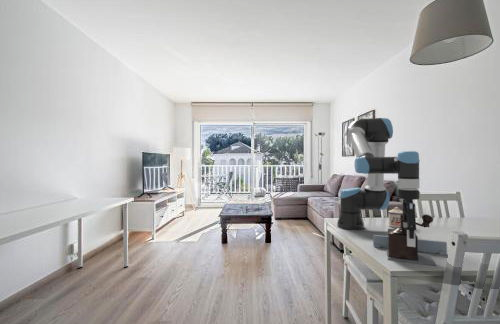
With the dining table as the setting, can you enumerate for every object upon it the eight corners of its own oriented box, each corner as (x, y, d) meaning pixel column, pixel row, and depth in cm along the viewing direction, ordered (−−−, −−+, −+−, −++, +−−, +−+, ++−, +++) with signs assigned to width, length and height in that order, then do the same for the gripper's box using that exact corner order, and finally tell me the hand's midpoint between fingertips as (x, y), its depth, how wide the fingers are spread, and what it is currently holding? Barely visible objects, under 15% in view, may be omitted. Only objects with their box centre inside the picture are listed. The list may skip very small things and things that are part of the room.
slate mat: (386, 250, 117) (386, 249, 117) (429, 255, 110) (429, 254, 110) (388, 259, 106) (388, 258, 106) (436, 265, 99) (436, 264, 99)
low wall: (373, 244, 125) (373, 234, 125) (445, 252, 114) (445, 240, 114) (373, 247, 122) (373, 236, 122) (447, 255, 110) (447, 243, 110)
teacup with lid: (390, 228, 157) (389, 208, 157) (386, 224, 165) (386, 205, 165) (413, 229, 153) (412, 209, 153) (408, 225, 162) (408, 206, 162)
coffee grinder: (388, 257, 106) (388, 212, 106) (387, 249, 116) (387, 208, 116) (434, 263, 100) (434, 216, 100) (429, 254, 110) (429, 211, 110)
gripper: (395, 186, 121) (395, 233, 121) (401, 191, 99) (401, 249, 99) (414, 186, 118) (414, 235, 118) (425, 192, 96) (425, 252, 95)
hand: (408, 242), depth 108 cm, fingers open, 12 cm apart
